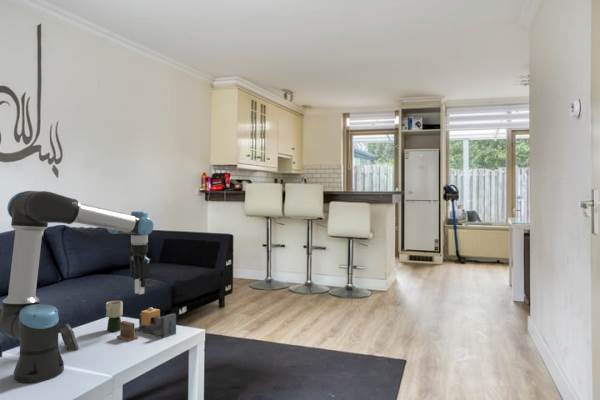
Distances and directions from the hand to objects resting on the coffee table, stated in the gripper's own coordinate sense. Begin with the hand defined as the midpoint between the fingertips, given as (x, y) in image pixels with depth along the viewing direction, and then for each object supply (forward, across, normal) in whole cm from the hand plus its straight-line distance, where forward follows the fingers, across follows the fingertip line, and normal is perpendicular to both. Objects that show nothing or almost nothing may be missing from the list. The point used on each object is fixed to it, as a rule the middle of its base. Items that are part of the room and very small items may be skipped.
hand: (139, 293), depth 202 cm
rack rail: (+16, -11, 0) cm, 20 cm away
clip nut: (+13, -8, 0) cm, 15 cm away
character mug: (+17, +7, +8) cm, 20 cm away
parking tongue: (+16, -8, +12) cm, 22 cm away
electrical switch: (+17, +2, +32) cm, 37 cm away
